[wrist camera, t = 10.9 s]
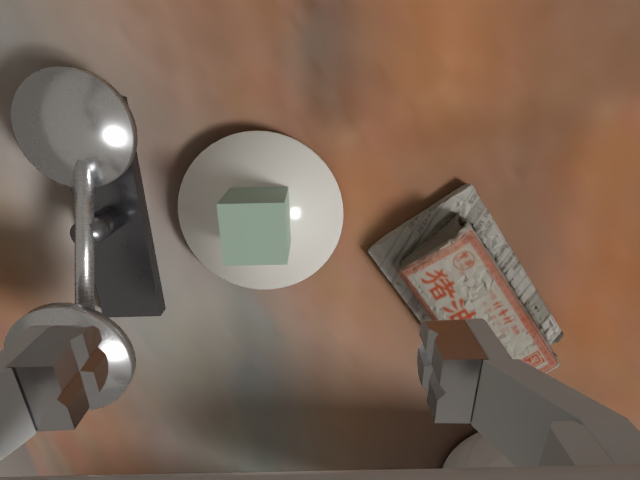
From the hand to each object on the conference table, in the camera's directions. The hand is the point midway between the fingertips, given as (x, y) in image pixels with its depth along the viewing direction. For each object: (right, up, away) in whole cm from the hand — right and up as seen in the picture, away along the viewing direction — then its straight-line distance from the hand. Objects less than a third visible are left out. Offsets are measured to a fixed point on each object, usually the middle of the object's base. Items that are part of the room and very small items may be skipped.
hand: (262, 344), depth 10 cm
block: (-3, +5, +21) cm, 22 cm away
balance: (-15, +5, +23) cm, 28 cm away
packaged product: (+15, -2, +26) cm, 30 cm away
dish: (-3, +5, +23) cm, 23 cm away
